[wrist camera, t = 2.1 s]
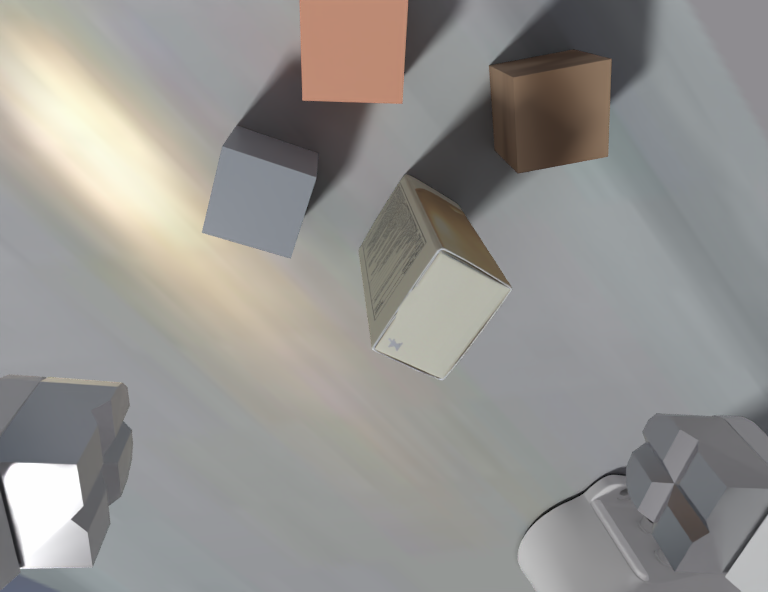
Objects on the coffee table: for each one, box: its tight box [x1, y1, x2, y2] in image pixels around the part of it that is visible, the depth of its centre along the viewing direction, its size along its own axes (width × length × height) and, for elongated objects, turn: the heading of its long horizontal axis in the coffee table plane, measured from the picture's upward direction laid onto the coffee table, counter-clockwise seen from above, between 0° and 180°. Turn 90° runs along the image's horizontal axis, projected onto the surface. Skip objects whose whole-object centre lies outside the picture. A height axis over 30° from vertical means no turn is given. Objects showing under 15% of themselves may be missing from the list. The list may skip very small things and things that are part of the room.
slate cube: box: [202, 126, 318, 258], centre depth 32 cm, size 5×5×5 cm
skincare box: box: [359, 175, 512, 380], centre depth 31 cm, size 6×4×12 cm
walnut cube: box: [489, 49, 612, 173], centre depth 31 cm, size 5×5×5 cm
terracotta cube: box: [300, 0, 408, 104], centre depth 29 cm, size 5×5×5 cm
